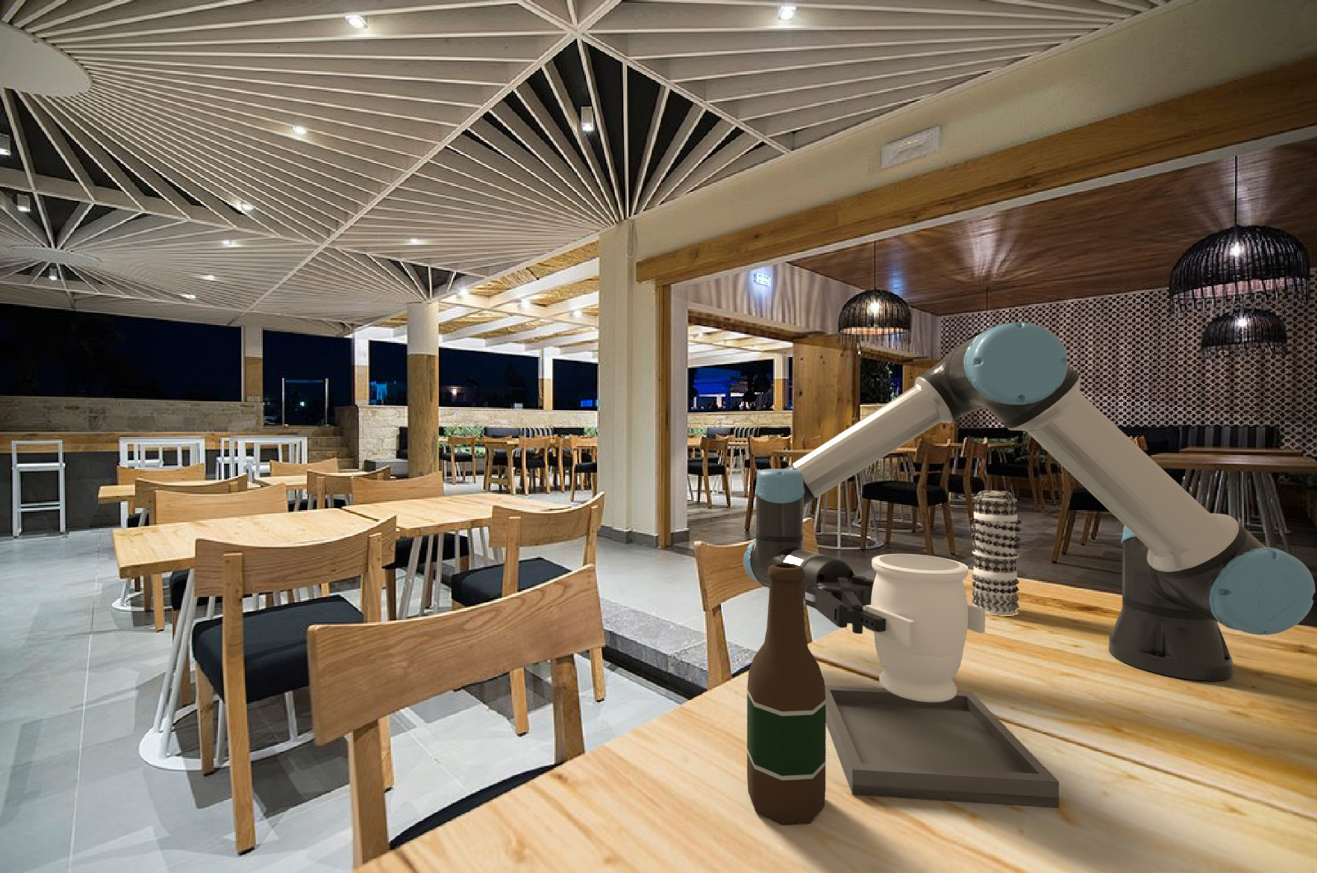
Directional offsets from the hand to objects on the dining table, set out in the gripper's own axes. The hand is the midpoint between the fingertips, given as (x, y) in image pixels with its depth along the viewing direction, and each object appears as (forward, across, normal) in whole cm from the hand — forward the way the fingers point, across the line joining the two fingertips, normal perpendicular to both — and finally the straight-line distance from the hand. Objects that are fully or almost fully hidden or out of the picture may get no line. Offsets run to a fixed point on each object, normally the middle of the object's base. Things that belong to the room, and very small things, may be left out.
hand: (948, 627), depth 65 cm
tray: (-4, 0, -16) cm, 16 cm away
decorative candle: (-36, -58, -16) cm, 70 cm away
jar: (-4, 0, -9) cm, 10 cm away
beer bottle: (-2, +20, -16) cm, 26 cm away
